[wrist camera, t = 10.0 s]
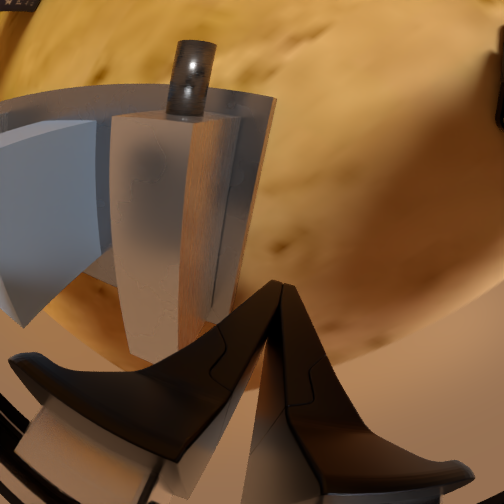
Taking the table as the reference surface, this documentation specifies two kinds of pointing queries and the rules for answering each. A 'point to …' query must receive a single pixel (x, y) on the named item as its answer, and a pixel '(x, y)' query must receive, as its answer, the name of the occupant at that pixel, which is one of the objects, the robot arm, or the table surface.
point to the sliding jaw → (170, 207)
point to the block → (45, 212)
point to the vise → (152, 99)
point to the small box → (18, 5)
